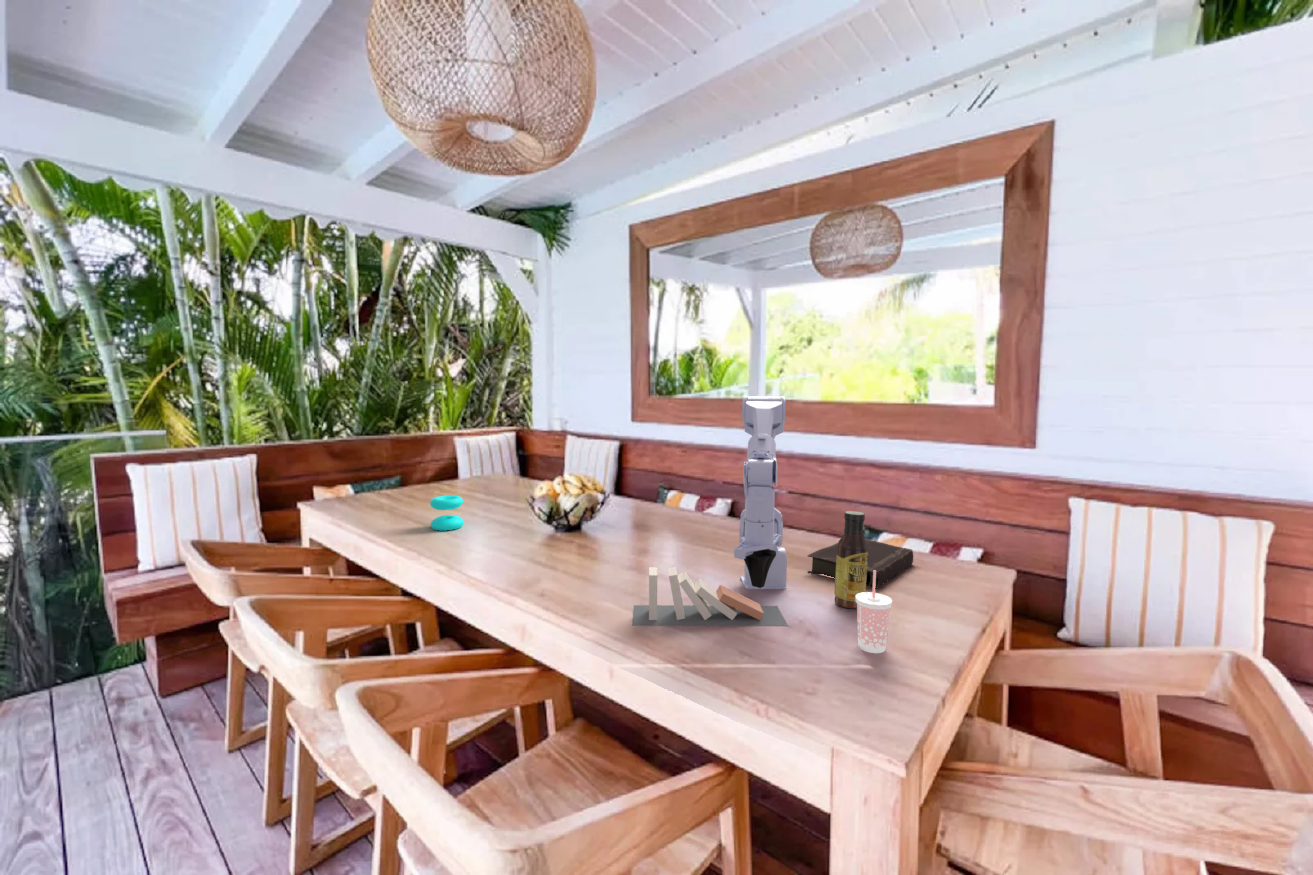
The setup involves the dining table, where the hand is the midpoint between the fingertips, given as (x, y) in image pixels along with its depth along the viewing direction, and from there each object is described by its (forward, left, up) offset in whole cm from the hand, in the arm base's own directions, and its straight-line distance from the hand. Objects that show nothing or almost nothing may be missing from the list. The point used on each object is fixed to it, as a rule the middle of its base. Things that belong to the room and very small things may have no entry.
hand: (757, 586), depth 113 cm
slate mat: (+10, 0, -6) cm, 12 cm away
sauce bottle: (-21, -7, -7) cm, 23 cm away
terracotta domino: (0, 0, -5) cm, 5 cm away
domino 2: (+15, 0, -6) cm, 17 cm away
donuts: (+88, -71, -7) cm, 113 cm away
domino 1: (+21, 0, -6) cm, 22 cm away
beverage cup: (-18, +13, -7) cm, 23 cm away
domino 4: (+5, 0, -5) cm, 7 cm away
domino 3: (+10, 0, -6) cm, 12 cm away
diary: (-32, -31, -7) cm, 45 cm away
